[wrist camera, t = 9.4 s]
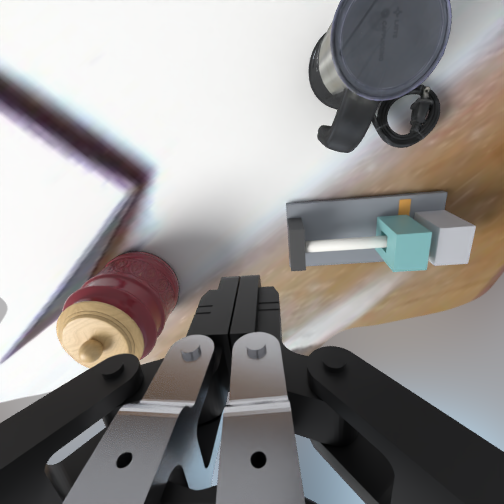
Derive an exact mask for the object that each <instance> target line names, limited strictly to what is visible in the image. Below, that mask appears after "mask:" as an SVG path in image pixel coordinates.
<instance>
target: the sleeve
mask: <svg viewBox="0 0 504 504" xmlns="http://www.w3.org/2000/svg"><path fill="white" fill-rule="evenodd" d="M386 235H387V236H388V238H387V247H385V248H375V250H376V251H377V252H378V254H379V255H380V256H381V257H382V259H383V260H384V261H385V262H386V264H387V265H388V266H389V267H390V269H391V270H392V271H393V272H399V271H416V270H427V264H428V257H429V250H430V244H431V237H432V232H431V231H430V230H428V229H427V228H425V227H424V226H423V225H421V224H420V223H418V222H417V221H415V220H414V219H412V218H411V217H410V216H408V215H395V216H382V217H377V227H376V236H386Z"/></svg>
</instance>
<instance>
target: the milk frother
mask: <svg viewBox="0 0 504 504" xmlns="http://www.w3.org/2000/svg"><path fill="white" fill-rule="evenodd" d="M451 18H452V15H451V4H450V0H341V1H340V3H339V5H338V8H337V10H336V12H335V15H334V19H333V22H332V23H331V25H330V27H329V29H328V31H327V32H326V33H325V34H324V35H323V36H322V37H321V38H320V39H319V41H318V42H317V44H316V46H315V48H314V50H313V52H312V55H311V58H310V63H309V81H310V84H311V88H312V90H313V92H314V94H315V95H316V97H317V98H318V99H319V100H320V101H321V102H322V103H324V104H325V105H327V106H329V107H331V108H334V109H338V110H337V113H336V116H335V119H334V121H333V124H332V126H326V125H322V126H321V127H320V128H319V130H318V135H317V138H318V140H319V141H320V142H321V143H322V144H323V145H324V146H325V147H327V148H329V149H332V150H335V151H338V152H344V153H349V152H351V151H353V150H354V149H355V148H356V147H357V146H358V145H359V143H360V142H361V140H362V139H363V137H364V136H365V134H366V132H367V130H368V128H369V126H370V124H371V121H372V123H373V125H374V127H375V129H376V131H377V132H378V134H379V136H380V137H381V138H382V140H383V141H385V142H386V143H387V144H389V145H391V146H393V147H398V148H404V147H409V146H411V145H413V144H415V143H417V142H419V141H420V140H422V139H424V138H425V137H426V136H427V135H428V134H429V133H430V132H431V131H432V130H433V128H434V127H435V125H436V123H437V121H438V119H439V115H440V103H439V100H438V98H437V96H436V94H435V93H434V92H433V91H432V90H430V87H426V86H424V85H420V84H421V83H422V82H424V81H425V80H426V79H427V77H428V76H429V75H430V74H431V73H432V72H433V70H434V69H435V68H436V66H437V64H438V63H439V61H440V59H441V57H442V56H443V54H444V51H445V48H446V45H447V42H448V38H449V34H450V30H451V23H452V22H451ZM410 94H418V95H420V96H421V99H417V100H416V102H414V103H413V104H412V105H411V107H410V109H412V115H411V119H412V121H411V122H410V124H411V125H412V127H411V129H410V133H409V134H406V135H399V134H397V133H395V132H394V131H393V130H392V129H391V128H390V127H389V125H388V122H387V114H388V111H389V109H390V107H391V105H392V104H393V103H394V102H395V101H396V100H398V99H399V98H401V97H403V96H406V95H410ZM380 101H383V102H382V103H381V106H380V108H379V110H378V114H377V117H376V115H375V112H376V110H377V107H378V105H379V102H380ZM428 110H429V114H428V117H427V119H426V120H425V117H426V115H427V112H428ZM425 121H426V122H425ZM422 124H423V125H422Z"/></svg>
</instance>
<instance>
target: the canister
mask: <svg viewBox="0 0 504 504" xmlns="http://www.w3.org/2000/svg"><path fill="white" fill-rule="evenodd" d="M178 295H179V283H178V279H177V277H176V275H175V273H174V271H173V270H172V268H171V267H170V266H169V265H168V264H167V263H166V262H165V261H163V260H162V259H160V258H159V257H157V256H155V255H153V254H150V253H146V252H139V251H134V252H128V253H124V254H122V255H119V256H117V257H115V258H114V259H112V260H111V261H110V262H109V263H107V264H106V265H105V267H104V268H103V269H102V270H101V271H100V272H99V273H98V274H97V275H95V276H94V277H93V278H91V279H89V280H88V281H87V282H86V283H85V284H84V285H83V286H82V287H81V289H79V290H77V291H75V292H74V293H73V294H71V295H70V296H69V297H68V299H67V300H66V302H65V304H64V306H63V310H62V313H61V315H60V316H59V318H58V321H57V326H56V330H57V336H58V339H59V341H60V343H61V345H62V347H63V348H64V350H65V351H66V352H67V353H68V354H69V355H70V356H71V357H72V358H73V359H74V360H75V361H77V362H78V363H80V364H81V365H83V366H85V367H88V368H92V367H93V366H95V365H97V364H98V363H100V362H102V361H103V360H105V359H107V358H109V357H111V356H114V355H118V354H124V353H128V354H133V355H135V356H136V357H137V358H138V359H139V360H141V359H143V358H144V357H146V356H147V355H148V354H149V353H150V352H151V351H152V349H153V348H154V346H155V343H156V340H157V338H158V336H159V335H160V334H161V332H162V330H163V328H164V325H165V322H166V320H167V318H168V316H169V315H170V313H171V312H172V311H173V309H174V308H175V305H176V303H177V300H178Z"/></svg>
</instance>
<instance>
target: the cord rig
mask: <svg viewBox="0 0 504 504" xmlns="http://www.w3.org/2000/svg"><path fill="white" fill-rule="evenodd" d="M446 198H447V192H445V191H434V192H422V193H410V194H398V195H385V196H373V197H361V198H349V199H337V200H325V201H312V202H300V203H288V204H286V208H287V227H288V245H289V263H290V267H291V271H302V270H306V266H317V265H334V264H350V263H366V262H382V261H384V260H383V259H382V257H381V256H380V255H379V254H378V252H377V251H376V250H375V248H385V247H387V238H388V236H387V235H386V236H376V227H377V217H382V216H395V215H408V216H410V217H411V218H412V219H414V220H415V221H417V222H418V223H420V224H421V225H423V226H424V227H425V228H427V229H428V230H430V231H431V232H432V237H431V244H430V250H429V257H428V260H429V261H430V262H431V263H432V264H433V265H434V266H436V265H453V264H468V261H469V256H470V251H471V246H472V242H473V237H474V232H475V228H476V226H475V225H473V224H471V223H469V222H467V221H465V220H463V219H461V218H459V217H457V216H455V215H453V214H452V213H450V212H448V211H446V210H445V204H446Z"/></svg>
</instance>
